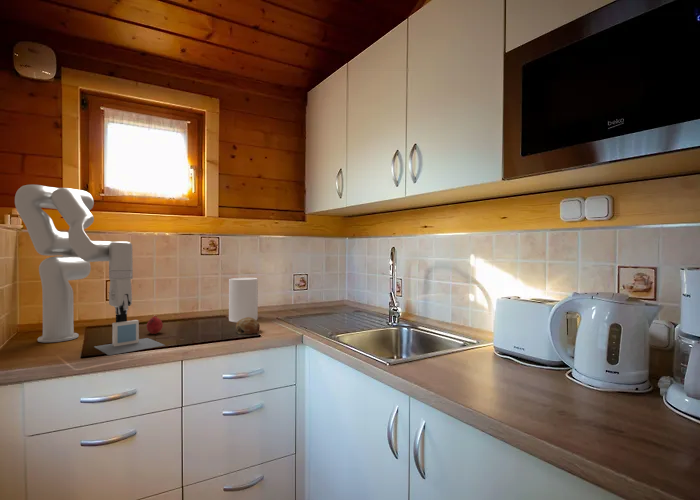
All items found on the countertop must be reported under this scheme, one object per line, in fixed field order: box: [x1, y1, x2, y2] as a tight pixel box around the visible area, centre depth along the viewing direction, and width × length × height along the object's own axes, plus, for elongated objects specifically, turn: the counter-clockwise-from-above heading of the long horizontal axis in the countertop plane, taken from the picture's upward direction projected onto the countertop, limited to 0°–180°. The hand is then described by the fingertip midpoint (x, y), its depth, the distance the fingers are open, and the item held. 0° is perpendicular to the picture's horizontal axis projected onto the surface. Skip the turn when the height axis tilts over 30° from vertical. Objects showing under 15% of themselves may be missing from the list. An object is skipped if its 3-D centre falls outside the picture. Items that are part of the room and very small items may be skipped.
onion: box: [146, 314, 164, 335], centre depth 160 cm, size 6×6×8 cm
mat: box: [93, 337, 165, 356], centre depth 140 cm, size 16×18×1 cm
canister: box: [228, 277, 259, 323], centre depth 194 cm, size 14×14×20 cm
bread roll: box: [234, 317, 261, 335], centre depth 167 cm, size 10×10×8 cm
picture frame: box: [111, 319, 140, 346], centre depth 143 cm, size 2×8×8 cm, turn 138°
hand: (121, 324), depth 146 cm, fingers closed
